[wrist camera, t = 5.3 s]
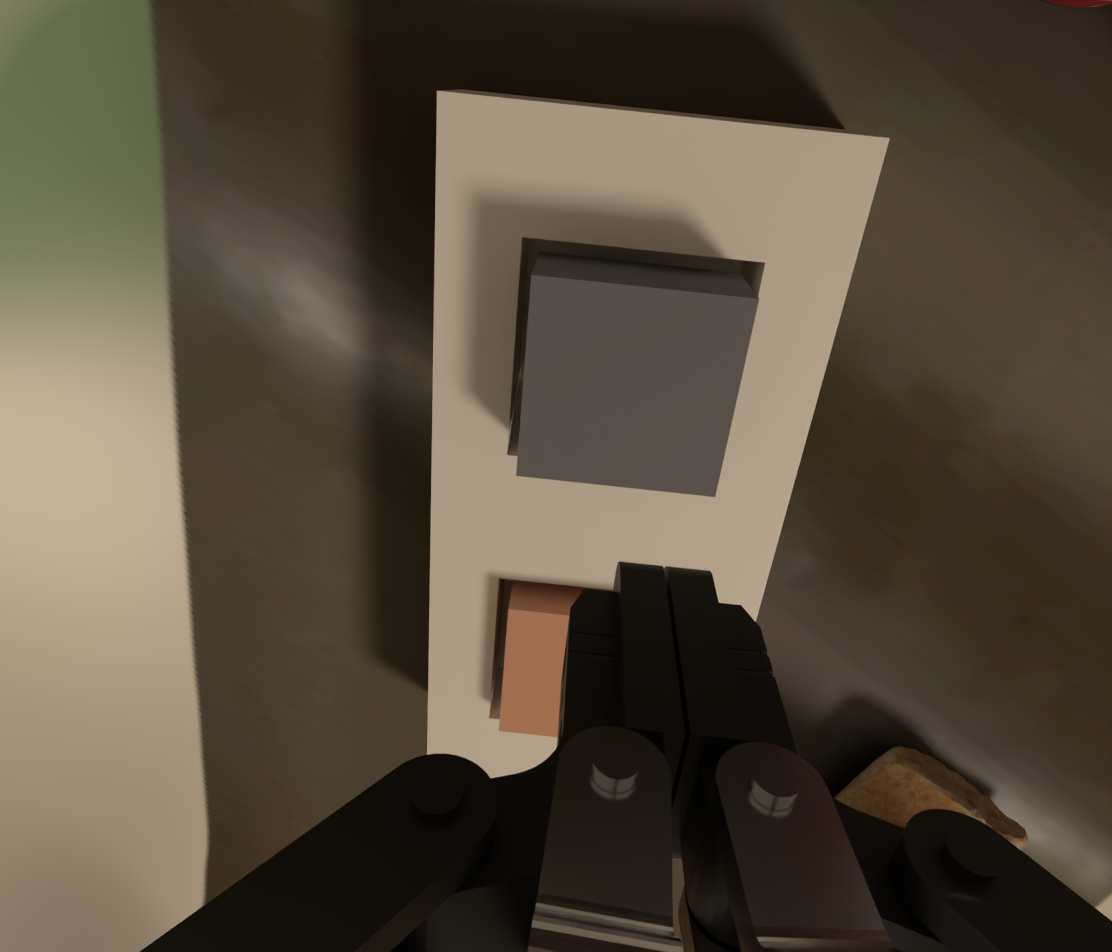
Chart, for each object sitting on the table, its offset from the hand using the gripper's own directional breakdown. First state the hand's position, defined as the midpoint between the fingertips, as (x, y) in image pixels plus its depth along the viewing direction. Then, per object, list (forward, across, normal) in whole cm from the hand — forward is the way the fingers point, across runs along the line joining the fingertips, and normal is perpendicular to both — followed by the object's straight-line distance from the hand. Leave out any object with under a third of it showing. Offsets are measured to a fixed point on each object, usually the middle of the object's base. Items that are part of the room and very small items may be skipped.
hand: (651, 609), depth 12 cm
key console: (+16, 0, +6) cm, 17 cm away
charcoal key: (+13, 0, 0) cm, 13 cm away
